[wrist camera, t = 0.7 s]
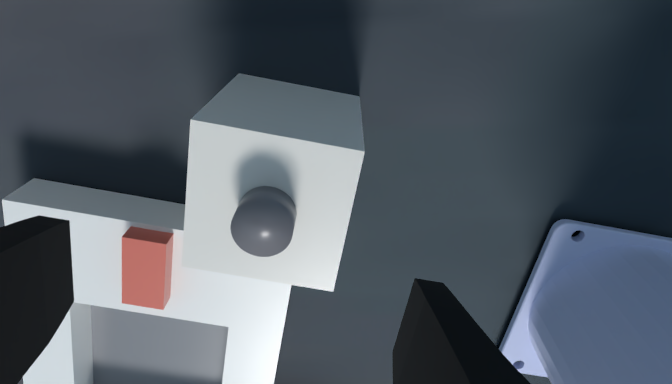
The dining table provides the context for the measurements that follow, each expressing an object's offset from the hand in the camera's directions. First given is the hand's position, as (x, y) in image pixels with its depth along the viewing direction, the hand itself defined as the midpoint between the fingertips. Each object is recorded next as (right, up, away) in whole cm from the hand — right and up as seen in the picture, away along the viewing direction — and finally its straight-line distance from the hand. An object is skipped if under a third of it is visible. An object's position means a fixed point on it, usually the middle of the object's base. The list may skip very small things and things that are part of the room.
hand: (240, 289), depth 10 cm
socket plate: (-6, -5, +13) cm, 15 cm away
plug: (0, +4, +9) cm, 10 cm away
